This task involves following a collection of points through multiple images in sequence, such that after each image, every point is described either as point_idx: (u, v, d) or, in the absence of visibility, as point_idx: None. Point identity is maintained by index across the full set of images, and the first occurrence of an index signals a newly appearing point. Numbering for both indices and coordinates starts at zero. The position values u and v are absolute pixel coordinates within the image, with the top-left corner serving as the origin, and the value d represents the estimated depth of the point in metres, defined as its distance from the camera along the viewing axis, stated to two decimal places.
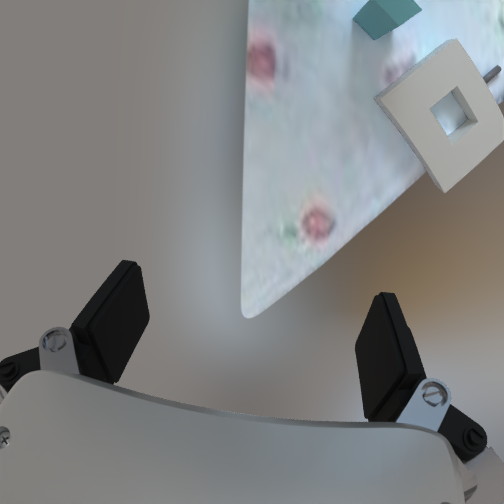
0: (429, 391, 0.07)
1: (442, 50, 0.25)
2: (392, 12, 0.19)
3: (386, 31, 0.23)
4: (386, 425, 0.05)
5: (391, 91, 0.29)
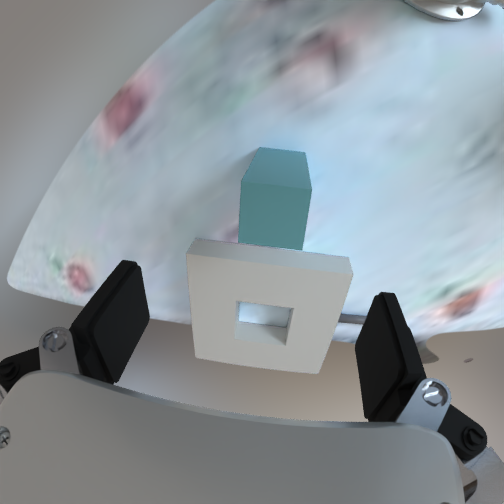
0: (429, 391, 0.07)
1: (316, 271, 0.27)
2: (250, 221, 0.18)
3: None
4: (386, 425, 0.05)
5: (205, 257, 0.28)
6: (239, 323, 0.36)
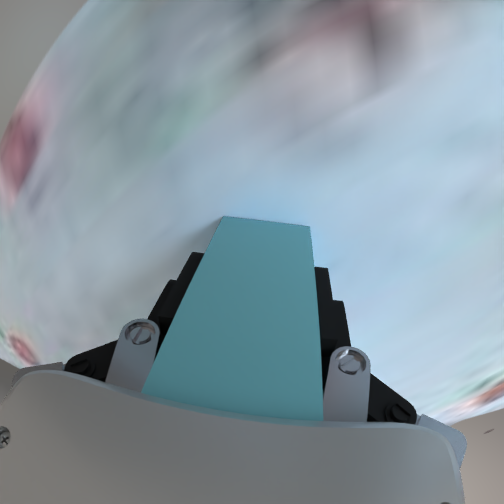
0: (344, 361, 0.08)
1: None
2: None
3: None
4: (386, 425, 0.05)
5: None
6: None
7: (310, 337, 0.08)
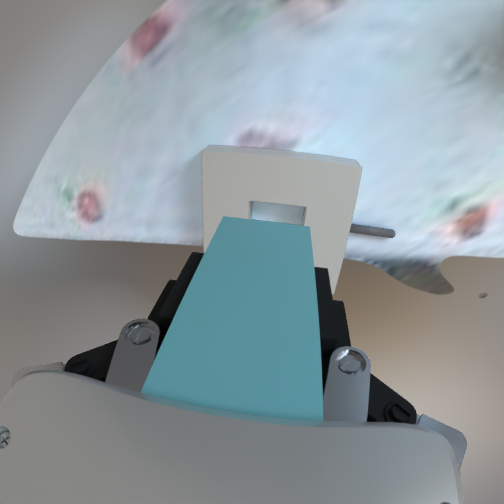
0: (344, 361, 0.08)
1: (327, 163, 0.27)
2: None
3: None
4: (386, 425, 0.05)
5: (220, 153, 0.28)
6: None
7: (310, 337, 0.08)
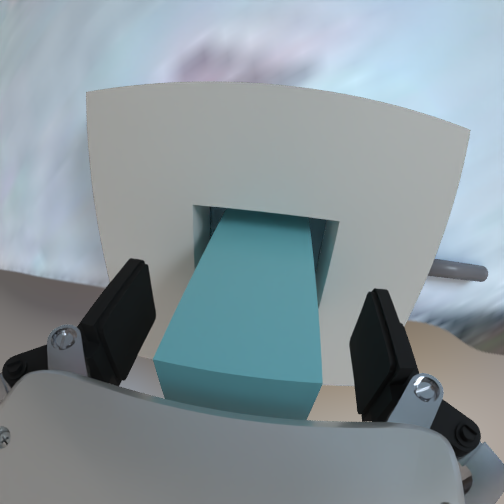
0: (421, 386, 0.07)
1: (396, 109, 0.09)
2: None
3: None
4: (386, 425, 0.05)
5: (123, 89, 0.10)
6: None
7: (308, 297, 0.09)
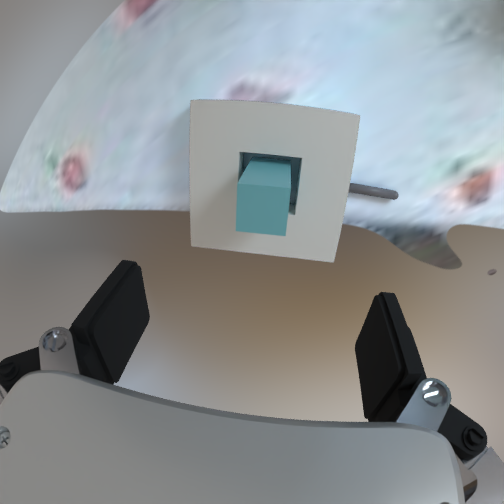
0: (429, 391, 0.07)
1: (323, 110, 0.25)
2: (244, 214, 0.23)
3: None
4: (386, 425, 0.05)
5: (210, 101, 0.25)
6: None
7: (287, 176, 0.24)
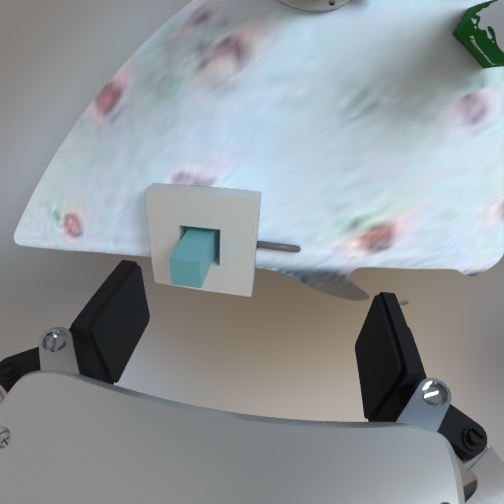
0: (429, 391, 0.07)
1: (232, 197, 0.38)
2: (175, 275, 0.37)
3: None
4: (386, 425, 0.05)
5: (157, 191, 0.39)
6: None
7: (204, 248, 0.38)
